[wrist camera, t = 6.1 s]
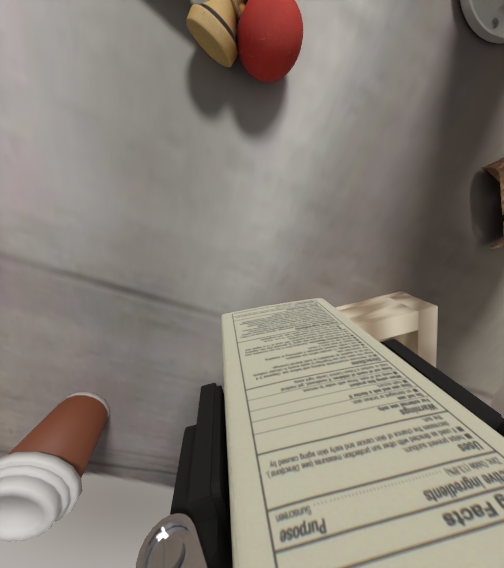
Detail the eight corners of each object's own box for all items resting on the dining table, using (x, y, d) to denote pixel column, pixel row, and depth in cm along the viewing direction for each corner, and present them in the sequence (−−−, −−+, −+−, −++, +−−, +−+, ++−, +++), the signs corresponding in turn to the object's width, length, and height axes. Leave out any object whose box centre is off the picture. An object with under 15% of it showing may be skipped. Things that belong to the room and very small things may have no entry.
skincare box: (229, 376, 14) (261, 1038, 3) (219, 311, 13) (197, 1029, 2) (330, 358, 15) (702, 854, 3) (329, 294, 14) (921, 737, 2)
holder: (401, 291, 34) (437, 306, 28) (402, 381, 38) (434, 410, 33) (293, 318, 33) (308, 339, 27) (309, 407, 37) (324, 442, 32)
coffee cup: (126, 389, 32) (74, 484, 21) (114, 440, 34) (61, 552, 23) (52, 377, 31) (-48, 473, 19) (44, 432, 33) (-51, 548, 21)
